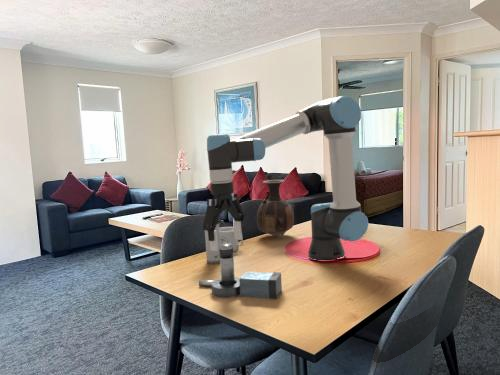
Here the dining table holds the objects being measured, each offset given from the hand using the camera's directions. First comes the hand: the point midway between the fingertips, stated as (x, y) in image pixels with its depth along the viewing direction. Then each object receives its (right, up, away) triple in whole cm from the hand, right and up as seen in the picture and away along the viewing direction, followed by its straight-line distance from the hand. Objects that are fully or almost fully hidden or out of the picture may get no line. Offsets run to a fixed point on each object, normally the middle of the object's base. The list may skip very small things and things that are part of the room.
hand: (226, 244), depth 126 cm
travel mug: (-7, -13, +36) cm, 39 cm away
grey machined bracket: (+3, -16, +1) cm, 16 cm away
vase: (+22, -7, +73) cm, 77 cm away
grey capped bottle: (+1, -16, +2) cm, 16 cm away
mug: (-2, -11, +54) cm, 55 cm away
